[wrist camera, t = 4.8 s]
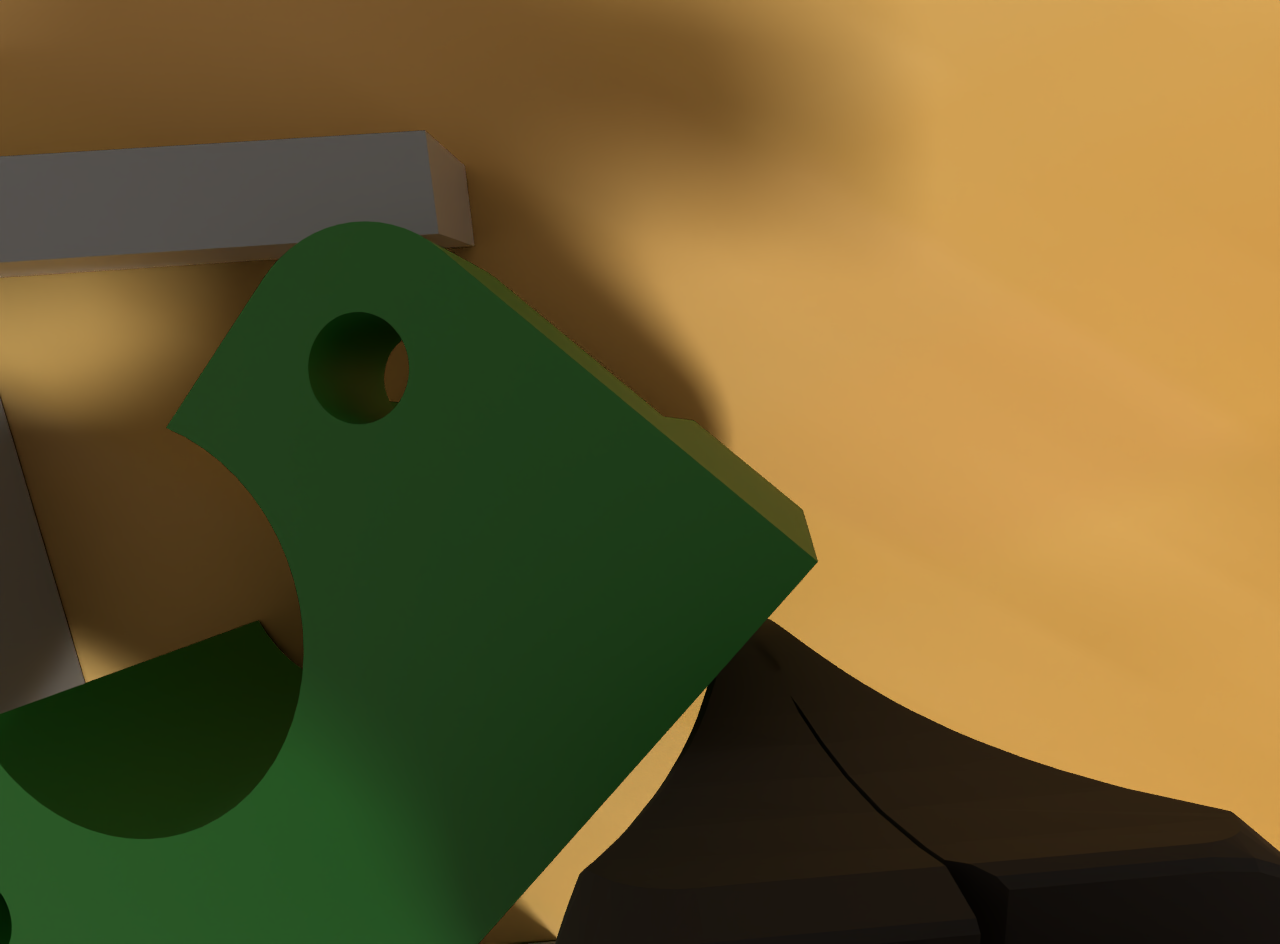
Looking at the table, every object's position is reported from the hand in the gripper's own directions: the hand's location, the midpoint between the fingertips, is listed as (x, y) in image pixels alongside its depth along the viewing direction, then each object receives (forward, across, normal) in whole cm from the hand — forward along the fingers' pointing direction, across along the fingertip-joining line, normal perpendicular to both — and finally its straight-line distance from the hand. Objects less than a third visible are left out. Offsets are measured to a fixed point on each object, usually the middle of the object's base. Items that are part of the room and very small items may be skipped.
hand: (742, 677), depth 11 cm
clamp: (+2, +5, -1) cm, 6 cm away
